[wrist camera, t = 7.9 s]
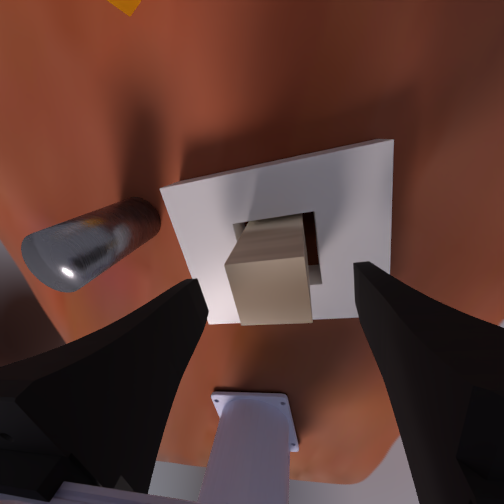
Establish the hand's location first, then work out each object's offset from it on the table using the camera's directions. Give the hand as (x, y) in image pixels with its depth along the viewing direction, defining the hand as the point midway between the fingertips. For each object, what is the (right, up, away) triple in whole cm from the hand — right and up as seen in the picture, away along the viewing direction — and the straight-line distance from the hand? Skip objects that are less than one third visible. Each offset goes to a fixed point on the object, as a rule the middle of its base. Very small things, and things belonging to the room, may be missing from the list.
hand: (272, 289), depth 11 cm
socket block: (+1, +3, +5) cm, 6 cm away
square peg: (+1, +3, +5) cm, 6 cm away
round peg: (-9, +4, +6) cm, 12 cm away
